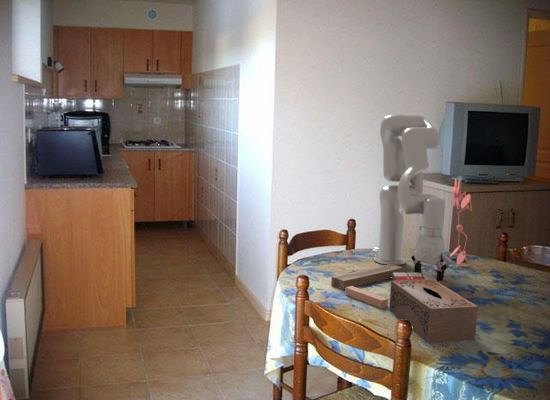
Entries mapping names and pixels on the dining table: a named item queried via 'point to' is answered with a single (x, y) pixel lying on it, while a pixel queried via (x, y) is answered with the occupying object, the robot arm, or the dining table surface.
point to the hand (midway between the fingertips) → (428, 277)
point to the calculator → (412, 276)
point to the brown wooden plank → (365, 276)
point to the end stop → (367, 296)
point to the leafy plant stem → (464, 203)
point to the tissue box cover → (433, 310)
